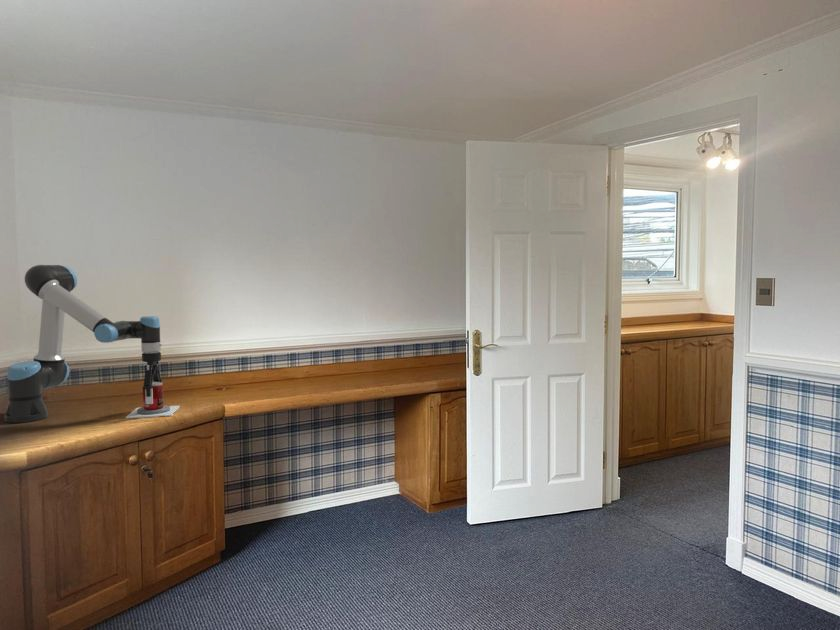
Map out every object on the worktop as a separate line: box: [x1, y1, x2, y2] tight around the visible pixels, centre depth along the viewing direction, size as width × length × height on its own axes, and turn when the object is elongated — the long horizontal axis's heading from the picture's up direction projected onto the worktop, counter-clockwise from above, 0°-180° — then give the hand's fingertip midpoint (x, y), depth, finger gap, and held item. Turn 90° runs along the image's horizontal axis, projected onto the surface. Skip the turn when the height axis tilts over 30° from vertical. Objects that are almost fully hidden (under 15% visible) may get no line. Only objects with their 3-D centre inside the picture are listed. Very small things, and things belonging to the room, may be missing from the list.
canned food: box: [142, 381, 164, 410], centre depth 256 cm, size 8×8×11 cm
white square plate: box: [125, 404, 180, 420], centre depth 256 cm, size 18×18×2 cm
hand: (153, 400), depth 256 cm, fingers open, 13 cm apart
